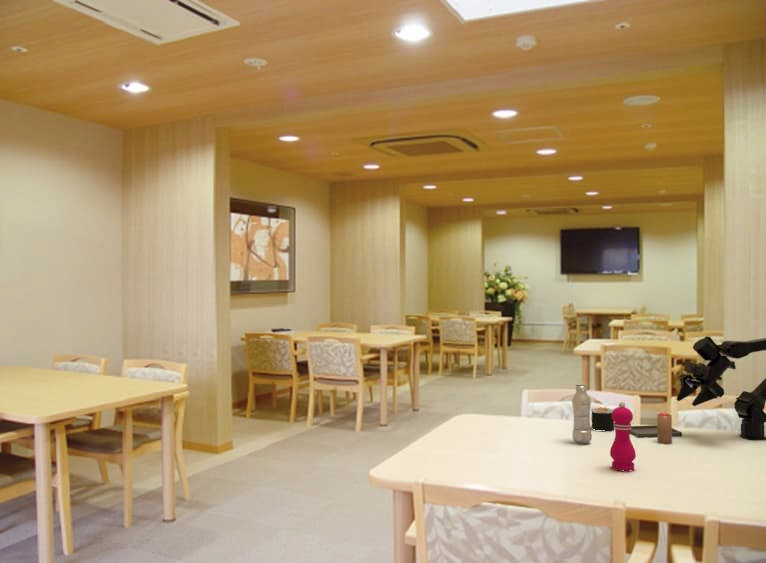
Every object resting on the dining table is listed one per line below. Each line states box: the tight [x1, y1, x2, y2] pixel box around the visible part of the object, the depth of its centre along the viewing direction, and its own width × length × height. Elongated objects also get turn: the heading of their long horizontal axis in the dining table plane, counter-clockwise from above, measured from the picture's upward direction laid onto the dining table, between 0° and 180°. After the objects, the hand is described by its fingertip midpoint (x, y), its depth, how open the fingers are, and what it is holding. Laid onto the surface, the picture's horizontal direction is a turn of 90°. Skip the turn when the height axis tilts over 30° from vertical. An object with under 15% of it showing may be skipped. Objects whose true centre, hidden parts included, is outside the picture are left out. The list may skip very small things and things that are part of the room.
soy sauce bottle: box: [656, 412, 673, 445], centre depth 226 cm, size 5×5×10 cm
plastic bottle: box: [571, 384, 593, 444], centre depth 228 cm, size 6×7×20 cm
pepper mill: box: [609, 401, 637, 472], centre depth 197 cm, size 7×7×20 cm
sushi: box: [590, 406, 615, 432], centre depth 247 cm, size 8×8×8 cm
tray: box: [629, 424, 683, 439], centre depth 240 cm, size 16×12×1 cm
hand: (685, 402), depth 227 cm, fingers open, 9 cm apart
